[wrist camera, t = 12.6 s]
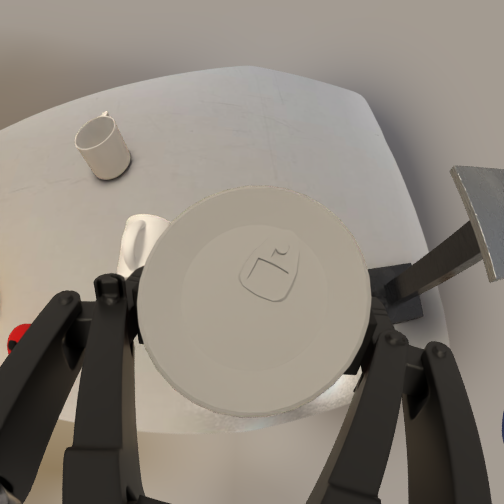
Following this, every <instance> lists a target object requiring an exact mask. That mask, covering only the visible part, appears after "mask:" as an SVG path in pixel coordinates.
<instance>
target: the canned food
mask: <svg viewBox="0 0 504 504" xmlns="http://www.w3.org/2000/svg"><path fill="white" fill-rule="evenodd" d="M370 308H371V287H370V277H369V273H368V269H367V266H366V263H365V259H364V256H363V254H362V252H361V250H360V248H359V246H358V244H357V242H356V240H355V238H354V236H353V235H352V234H351V232H350V231H349V230H348V229H347V227H346V226H345V225H344V224H343V222H342V221H341V220H340V219H339V218H338V217H337V216H336V215H334V214H333V213H332V212H331V211H330V210H329V209H327V208H326V207H325V206H323V205H322V204H320V203H318V202H317V201H315V200H313V199H311V198H310V197H308V196H306V195H303V194H300V193H298V192H295V191H292V190H289V189H285V188H279V187H273V186H243V187H238V188H233V189H227V190H224V191H221V192H219V193H216V194H213V195H211V196H208V197H206V198H204V199H202V200H201V201H199V202H197V203H196V204H194V205H192V206H191V207H189V208H187V209H186V210H185V211H184V212H183V213H182V214H180V215H179V216H178V217H177V218H176V219H175V220H173V221H172V222H171V223H170V224H169V226H168V227H167V228H166V229H165V231H164V232H163V233H162V234H161V236H160V237H159V238H158V239H157V241H156V243H155V245H154V246H153V248H152V250H151V252H150V254H149V256H148V257H147V259H146V262H145V266H144V269H143V272H142V275H141V278H140V282H139V290H138V298H137V311H138V323H139V329H140V332H141V336H142V339H143V342H144V346H145V349H146V351H147V353H148V354H149V356H150V358H151V360H152V362H153V364H154V366H155V367H156V369H157V370H158V372H159V373H160V374H161V375H162V376H163V377H164V379H165V380H166V381H167V382H168V383H169V384H170V385H171V387H172V388H174V389H175V390H176V391H177V392H179V393H180V394H181V395H183V396H184V397H186V398H187V399H188V400H190V401H191V402H193V403H195V404H197V405H199V406H201V407H204V408H206V409H208V410H210V411H213V412H215V413H220V414H224V415H229V416H234V417H268V416H272V415H276V414H281V413H285V412H289V411H292V410H294V409H296V408H298V407H300V406H302V405H304V404H306V403H309V402H311V401H313V400H314V399H316V398H317V397H318V396H320V395H321V394H322V393H323V392H325V391H326V390H327V389H329V388H330V387H331V386H333V385H334V384H335V382H336V381H337V380H338V379H339V378H340V377H341V376H342V374H343V373H344V372H345V371H346V370H347V369H348V367H349V366H350V365H351V363H352V361H353V359H354V358H355V356H356V354H357V352H358V350H359V349H360V347H361V345H362V342H363V339H364V336H365V333H366V330H367V326H368V323H369V317H370Z"/></svg>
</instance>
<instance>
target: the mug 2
mask: <svg viewBox="0 0 504 504" xmlns="http://www.w3.org/2000/svg"><path fill="white" fill-rule="evenodd" d="M169 224H170V222H169V221H168V220H166V219H164V218H161V217H159V216H155V215H149V214H138V215H134V216H131V217H130V218H128V220H127V222H126V227H125V231H124V234H123V236H122V240H121V252H120V257H119V263H118V268H117V274H119V275H122V276H123V277H124V278H125V280H127V278H128V277H129V276H130V275H131V274H132V273H133V272H134V270H136V269H138V268H140V267H142V266H145V262H146V259H147V257H148V256H149V254H150V252H151V250H152V248H153V246H154V245H155V243H156V241H157V239H158V238H159V237H160V236H161V234H162V233H163V232H164V231H165V229H166V228H167V227H168V226H169Z"/></svg>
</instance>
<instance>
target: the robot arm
mask: <svg viewBox="0 0 504 504" xmlns="http://www.w3.org/2000/svg"><path fill="white" fill-rule="evenodd" d="M143 269H144V266H142V267H140V268H138V269H136V270H134V272H133V273H132V274H131V275H130V276H129V277H128V278H127V280H125V278H124V277H123V276H122V275H119V274H113V273H110V274H104V275H101V276H99V277H97V278H96V279H95V280H94V288H95V293H96V299H97V300H96V301H94V302H87V301H81V299H80V295H79V294H78V293H77V292H75V291H68V290H67V291H62V292H60V293H58V294H56V295H55V296H54V297H53V298H52V299H51V300H50V302H49V303H48V304H47V305H46V306H45V308H44V309H43V310H42V311H41V313H40V314H39V315H38V316H37V318H36V319H35V320H34V322H33V323H32V324H31V325H30V327H29V328H28V329H27V331H26V332H25V333H24V335H23V336H22V337H21V339H20V340H19V341H18V343H17V344H16V345H15V347H14V348H13V350H12V351H11V352H10V354H9V355H8V357H7V358H6V359H5V361H4V362H3V364H2V365H1V367H0V504H23V502H24V501H25V499H26V497H27V496H28V494H29V492H30V490H31V487H32V485H33V483H34V480H35V478H36V475H37V472H38V469H39V466H40V463H41V461H42V458H43V455H44V453H45V450H46V447H47V445H48V442H49V440H50V437H51V435H52V432H53V430H54V427H55V425H56V422H57V420H58V418H59V415H60V413H61V411H62V409H63V406H64V404H65V402H66V400H67V397H68V395H69V393H70V391H71V389H72V386H73V384H74V382H75V380H76V378H77V376H78V374H79V372H80V370H81V368H82V372H81V378H80V384H79V391H78V399H77V407H76V416H75V427H74V438H73V445H72V447H68V448H67V449H66V450H65V453H64V461H63V488H62V491H63V493H62V496H63V497H62V499H63V500H62V501H63V502H62V504H170V503H166V502H162V501H158V500H155V499H152V498H149V497H146V496H145V494H144V491H143V487H142V482H141V473H140V465H139V454H138V443H137V429H136V411H135V377H134V351H135V347H134V341H133V340H134V338H135V337H136V335H137V333H138V340H139V343H140V344H144V342H143V339H142V336H141V332H140V329H139V323H138V311H137V298H138V290H139V282H140V278H141V275H142V272H143ZM360 365H361V369H362V374H361V377H360V379H359V381H358V383H357V385H356V387H355V389H354V391H353V392H355V393H354V396H353V398H352V401H351V404H350V406H349V409H348V412H347V414H346V417H345V419H344V422H343V425H342V427H341V430H340V432H339V434H338V437H337V440H336V441H335V444H334V446H333V449H332V451H331V453H330V455H329V457H328V460H327V462H326V464H325V466H324V469H323V471H322V472H321V475H320V477H319V479H318V481H317V483H316V485H315V487H314V489H313V491H312V493H311V495H310V496H309V498H308V500H307V502H306V504H381V500H380V499H379V498H378V491H379V488H380V485H381V482H382V478H383V475H384V471H385V468H386V465H387V461H388V457H389V454H390V449H391V445H392V441H393V437H394V433H395V428H396V423H397V419H398V414H399V408H400V403H401V397H402V404H403V412H404V422H405V432H406V445H407V460H408V493H409V504H492V503H491V494H490V488H489V481H488V476H487V470H486V465H485V460H484V455H483V451H482V447H481V443H480V438H479V434H478V430H477V426H476V423H475V419H474V415H473V412H472V409H471V405H470V402H469V399H468V396H467V392H466V389H465V386H464V383H463V380H462V378H461V375H460V372H459V369H458V366H457V364H456V361H455V358H454V356H453V354H452V351H451V350H450V348H448V347H447V346H446V345H445V344H443V343H441V342H436V341H431V342H429V343H428V344H427V345H426V347H425V349H421V348H417V347H413V346H411V345H409V342H408V339H407V338H406V336H405V335H403V334H402V333H401V332H398V331H396V330H395V329H394V327H393V325H392V323H391V320H390V318H389V316H388V314H387V312H386V311H385V307H384V305H383V303H382V302H381V301H380V300H379V299H378V298H377V297H372V296H371V308H370V317H369V323H368V326H367V330H366V333H365V336H364V339H363V342H362V345H361V347H360V349H359V350H358V352H357V354H356V356H355V358H354V359H353V361H352V363H351V365H350V366H349V367H348V369H347V370H346V371H345V372H344V373H343V374H346V375H356V374H357V372H358V370H359V368H360Z"/></svg>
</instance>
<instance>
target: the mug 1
mask: <svg viewBox="0 0 504 504" xmlns="http://www.w3.org/2000/svg"><path fill="white" fill-rule="evenodd" d="M75 146H76V147H77V149H78V150H79V152H80V153H81V155H82V156H83V158H84V159H85V161H86V162H87V164H88V165H89V167H90V168H91V170H92V171H93V173H94V174H95V175H96V176H97V177H98V178H100V179H103V180H108V179H113V178H116V177H118V176H119V175H121V174H122V173H123V172H124V171H125V170H126V168H127V167H128V165H129V162H130V152H129V150H128V148H127V146H126V144H125V142H124V140H123V137H122V135H121V133H120V131H119V129H118V127H117V125H116V122H115V120H114V119H113V118H112V117H110V116H109V113H108V111H107V112H103V113H102V115H101V116H100V117H96V118H94V119H92V120H90V121H88V122H87V123H86V124H84V125H83V126H82V127H81V128H80V130H79V131H78V132H77V134H76V137H75Z"/></svg>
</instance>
